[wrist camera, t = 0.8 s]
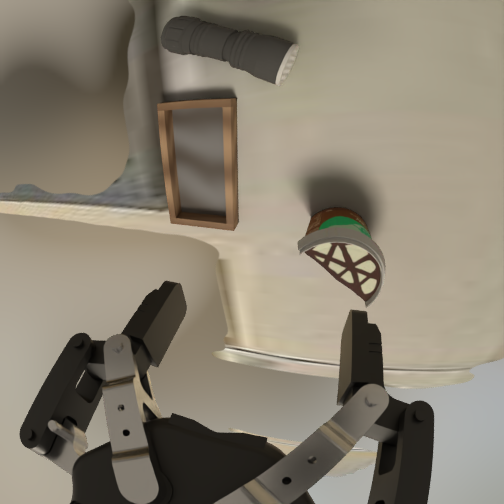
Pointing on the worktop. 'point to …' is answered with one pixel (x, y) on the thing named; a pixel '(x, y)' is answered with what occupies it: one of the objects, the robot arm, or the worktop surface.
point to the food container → (346, 251)
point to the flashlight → (231, 47)
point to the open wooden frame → (200, 161)
